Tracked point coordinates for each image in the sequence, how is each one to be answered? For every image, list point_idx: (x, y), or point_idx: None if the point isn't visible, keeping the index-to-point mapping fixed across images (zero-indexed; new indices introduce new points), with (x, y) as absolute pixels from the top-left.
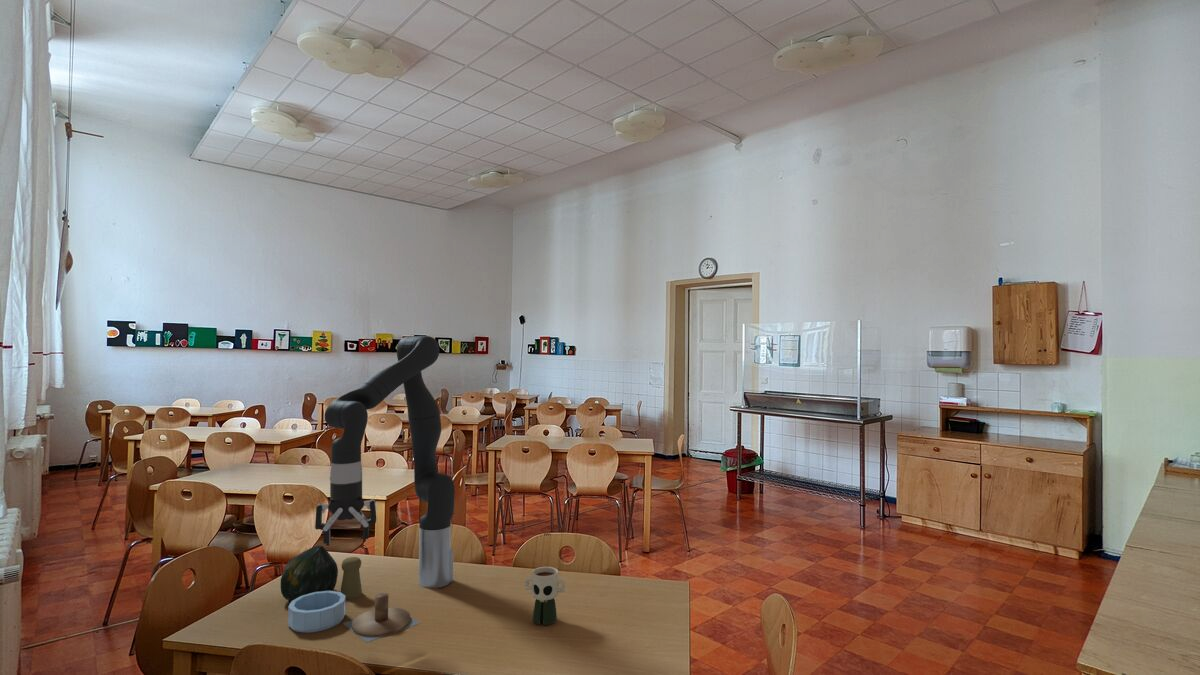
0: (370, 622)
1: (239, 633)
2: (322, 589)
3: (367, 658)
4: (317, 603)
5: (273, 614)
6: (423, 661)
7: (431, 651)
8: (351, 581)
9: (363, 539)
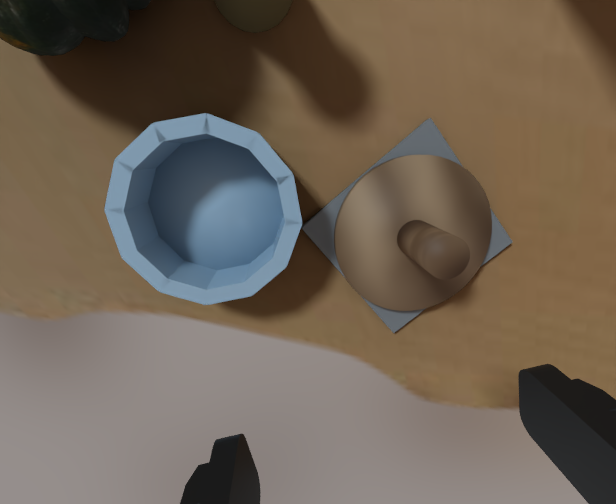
0: (388, 255)
1: (19, 254)
2: (141, 6)
3: (405, 383)
4: (182, 141)
5: (37, 125)
6: (517, 396)
7: (533, 361)
8: None
9: (544, 444)
